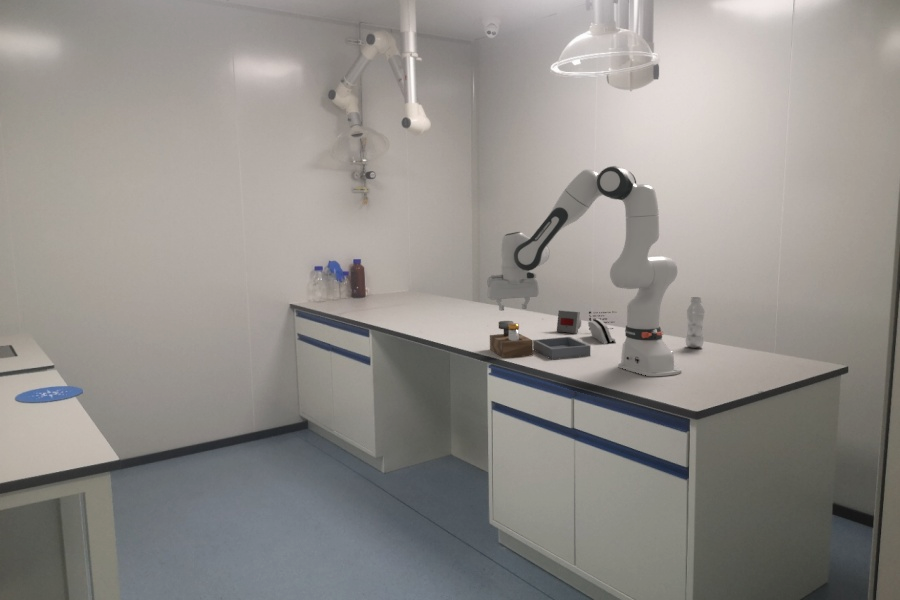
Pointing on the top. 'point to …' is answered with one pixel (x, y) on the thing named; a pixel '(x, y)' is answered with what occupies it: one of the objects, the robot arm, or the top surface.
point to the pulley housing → (510, 343)
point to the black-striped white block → (600, 331)
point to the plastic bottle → (695, 323)
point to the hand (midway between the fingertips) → (513, 309)
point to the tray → (561, 347)
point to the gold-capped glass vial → (513, 332)
